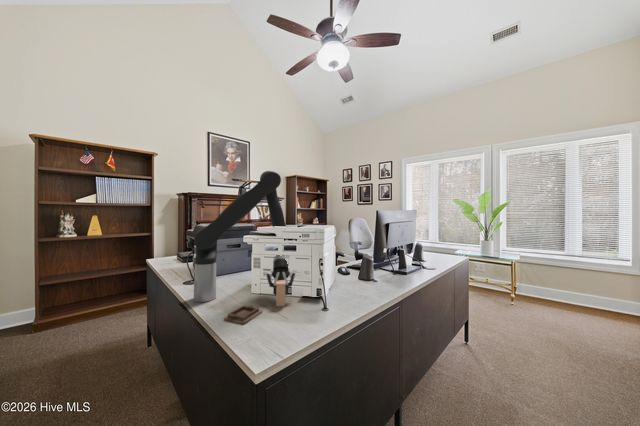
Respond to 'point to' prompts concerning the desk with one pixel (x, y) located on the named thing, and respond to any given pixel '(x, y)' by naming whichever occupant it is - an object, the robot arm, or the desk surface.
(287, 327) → the desk surface
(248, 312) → the walnut cradle
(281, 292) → the terracotta block
